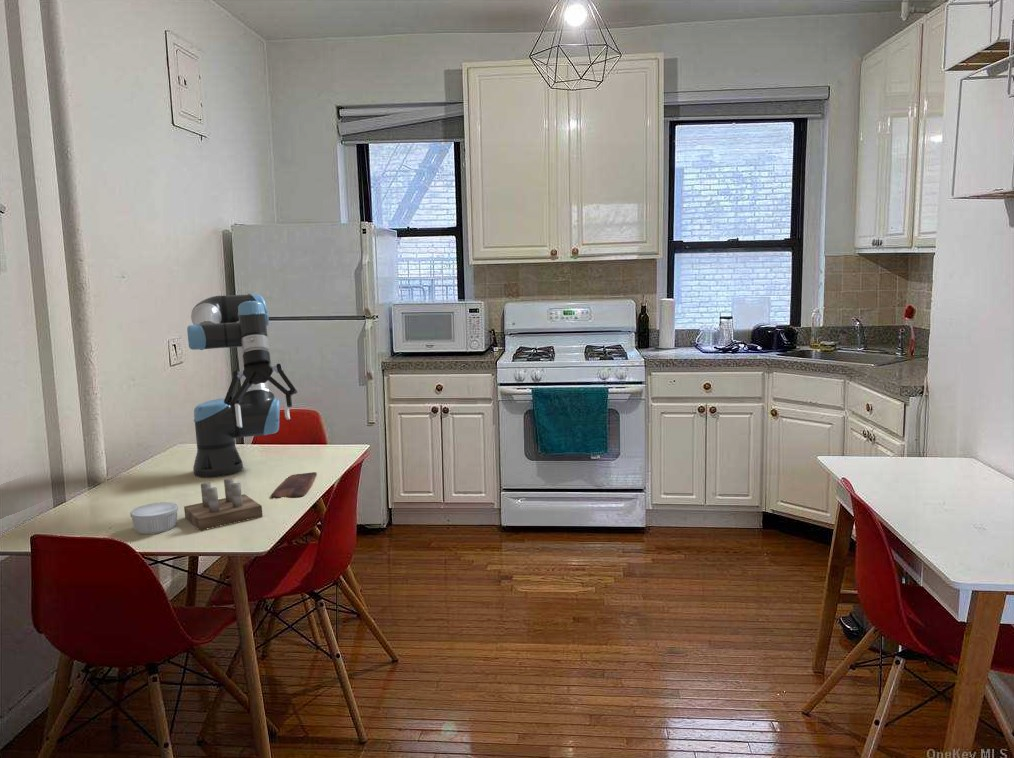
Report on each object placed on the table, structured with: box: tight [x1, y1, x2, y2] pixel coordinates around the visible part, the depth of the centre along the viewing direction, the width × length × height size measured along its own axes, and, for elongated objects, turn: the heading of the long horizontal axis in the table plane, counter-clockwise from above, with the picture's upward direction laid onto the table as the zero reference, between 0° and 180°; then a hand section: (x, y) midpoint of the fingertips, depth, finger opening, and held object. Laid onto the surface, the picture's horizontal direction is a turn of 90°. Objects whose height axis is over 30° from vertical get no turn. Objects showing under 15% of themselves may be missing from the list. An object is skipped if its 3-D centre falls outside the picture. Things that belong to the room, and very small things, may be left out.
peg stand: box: [183, 477, 263, 531], centre depth 203 cm, size 14×16×9 cm
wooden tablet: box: [270, 471, 317, 499], centre depth 232 cm, size 26×2×10 cm
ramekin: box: [129, 501, 179, 535], centre depth 196 cm, size 11×11×5 cm
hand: (263, 422), depth 220 cm, fingers open, 13 cm apart
